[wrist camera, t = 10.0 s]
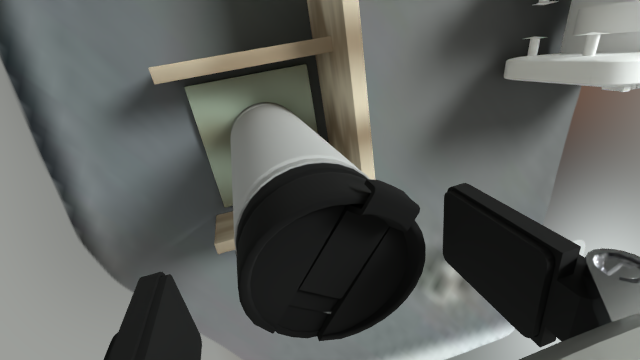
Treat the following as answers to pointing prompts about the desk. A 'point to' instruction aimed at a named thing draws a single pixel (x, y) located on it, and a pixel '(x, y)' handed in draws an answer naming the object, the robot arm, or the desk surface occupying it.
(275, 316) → the travel mug
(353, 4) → the desk dock
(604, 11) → the cable organizer
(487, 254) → the robot arm
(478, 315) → the desk surface
